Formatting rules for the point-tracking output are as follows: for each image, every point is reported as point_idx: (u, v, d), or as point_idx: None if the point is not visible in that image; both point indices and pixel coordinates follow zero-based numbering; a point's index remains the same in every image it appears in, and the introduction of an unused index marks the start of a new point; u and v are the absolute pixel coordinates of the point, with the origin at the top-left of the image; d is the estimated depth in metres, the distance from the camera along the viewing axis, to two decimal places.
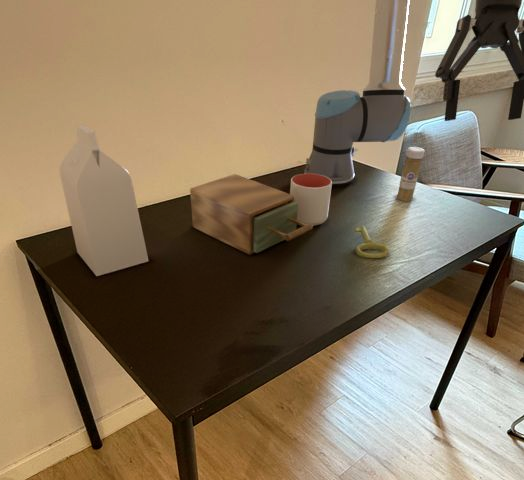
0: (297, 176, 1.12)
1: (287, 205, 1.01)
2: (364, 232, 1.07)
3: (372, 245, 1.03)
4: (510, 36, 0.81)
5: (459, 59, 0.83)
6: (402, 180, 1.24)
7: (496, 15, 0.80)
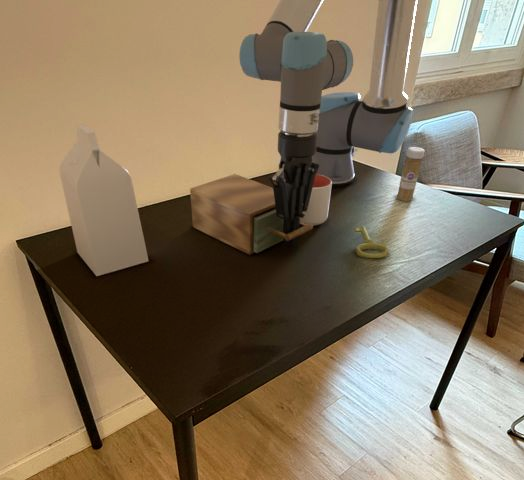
0: None
1: None
2: (364, 232, 1.07)
3: (372, 245, 1.03)
4: (304, 176, 0.91)
5: None
6: (402, 180, 1.24)
7: (298, 160, 0.88)
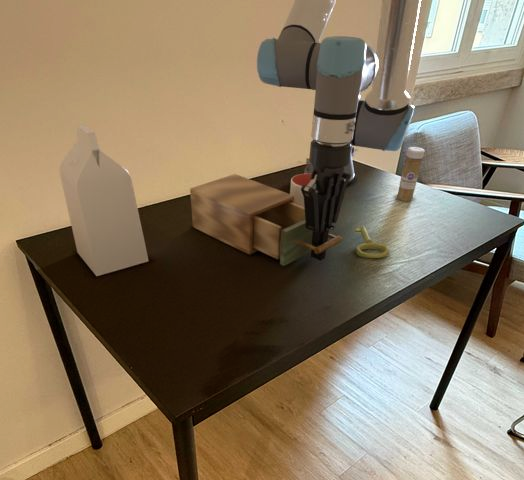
0: (297, 176, 1.12)
1: None
2: (364, 232, 1.07)
3: (372, 245, 1.03)
4: (336, 187, 0.87)
5: None
6: (402, 180, 1.24)
7: (330, 170, 0.84)
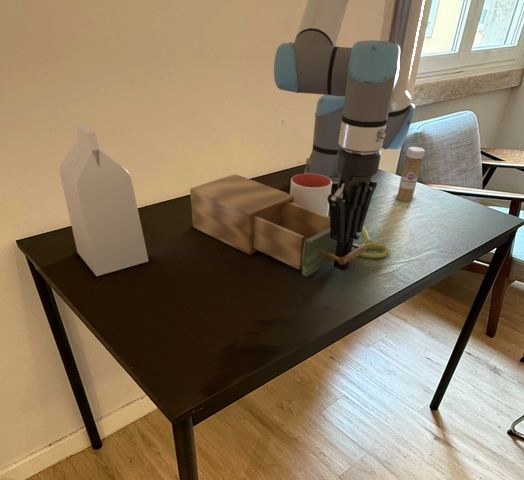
0: (297, 176, 1.12)
1: None
2: (364, 232, 1.07)
3: (372, 245, 1.03)
4: (362, 196, 0.83)
5: None
6: (402, 180, 1.24)
7: (358, 179, 0.81)
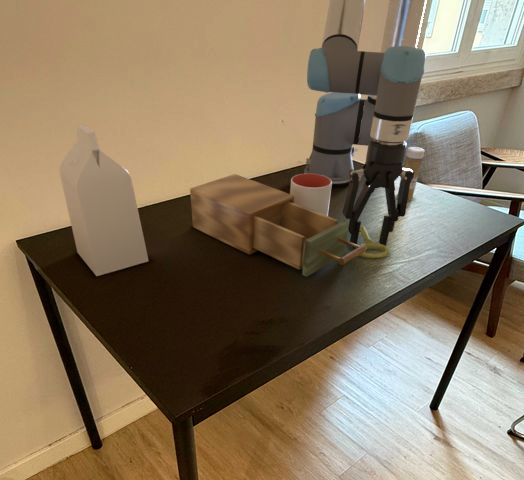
0: (297, 176, 1.12)
1: (338, 225, 0.94)
2: (364, 232, 1.07)
3: (372, 245, 1.03)
4: (389, 184, 0.94)
5: (358, 201, 0.98)
6: None
7: (381, 166, 0.92)
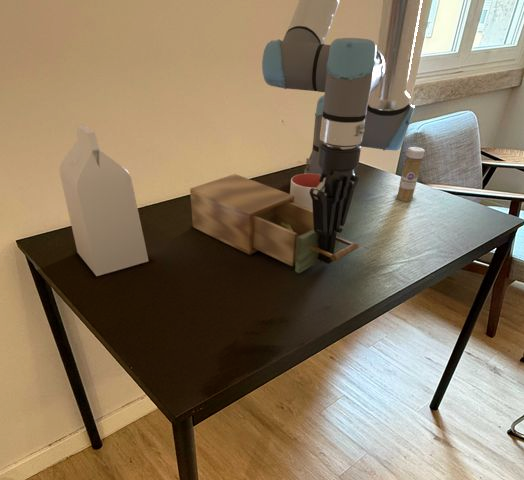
0: (297, 176, 1.12)
1: None
2: (290, 228, 1.02)
3: None
4: (344, 190, 0.86)
5: None
6: (402, 180, 1.24)
7: (339, 173, 0.83)
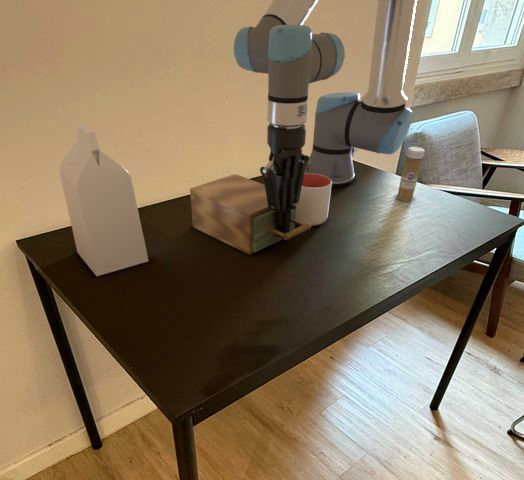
0: None
1: None
2: None
3: None
4: (294, 168, 0.92)
5: (277, 193, 0.94)
6: (402, 180, 1.24)
7: (287, 152, 0.89)
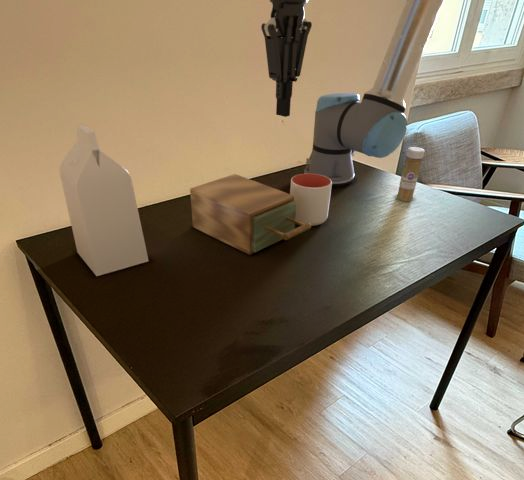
0: (297, 176, 1.12)
1: (285, 204, 1.01)
2: None
3: None
4: (296, 31, 0.90)
5: None
6: (402, 180, 1.24)
7: (290, 9, 0.87)
